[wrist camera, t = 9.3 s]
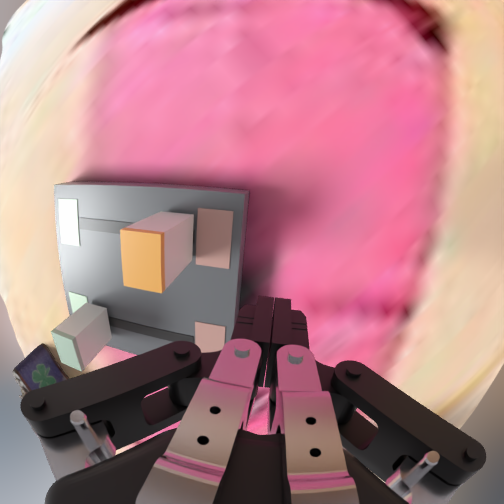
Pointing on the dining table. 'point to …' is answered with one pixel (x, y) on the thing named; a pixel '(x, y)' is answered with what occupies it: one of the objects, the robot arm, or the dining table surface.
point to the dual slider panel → (184, 285)
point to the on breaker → (82, 335)
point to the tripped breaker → (156, 250)
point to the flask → (38, 370)
